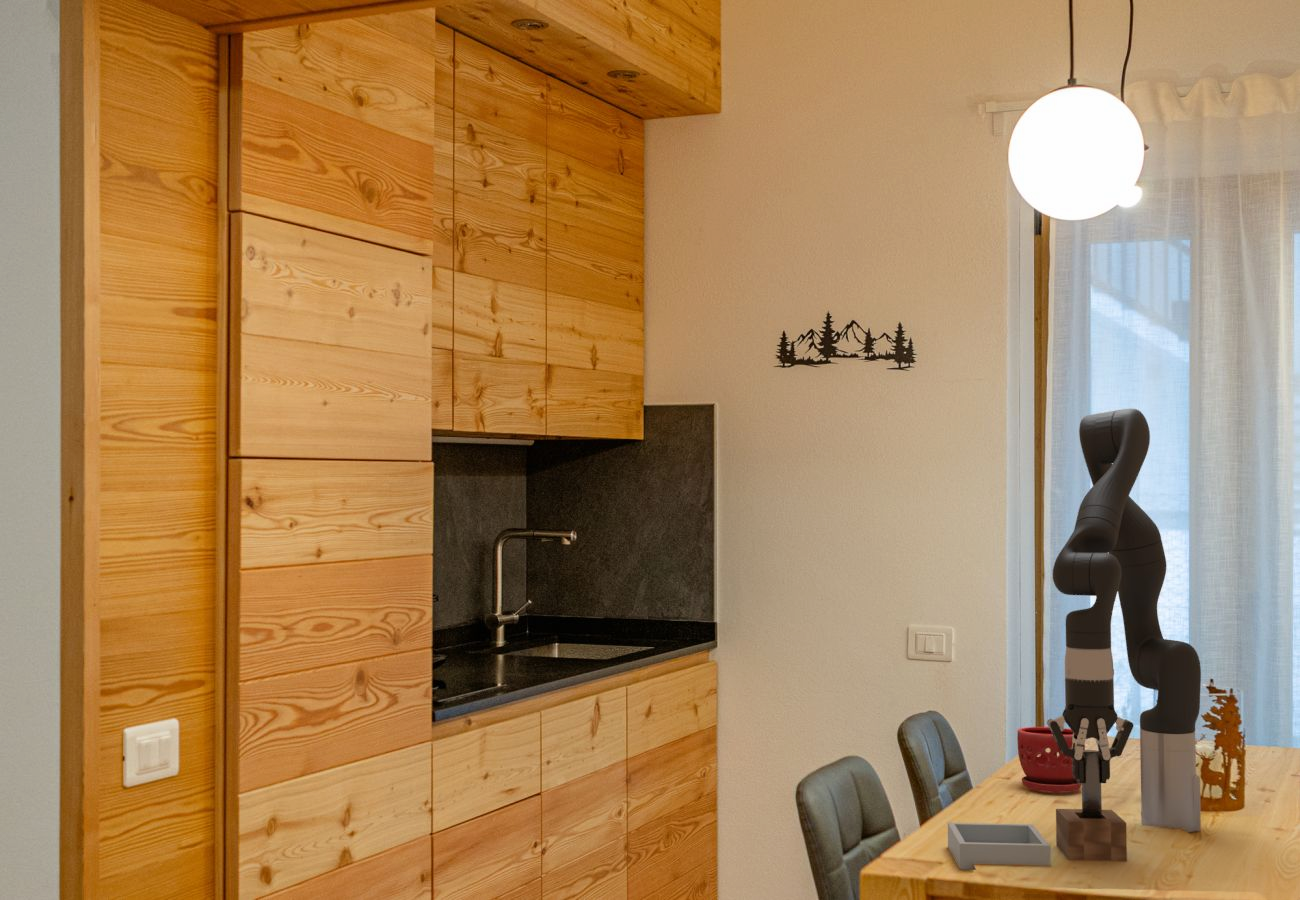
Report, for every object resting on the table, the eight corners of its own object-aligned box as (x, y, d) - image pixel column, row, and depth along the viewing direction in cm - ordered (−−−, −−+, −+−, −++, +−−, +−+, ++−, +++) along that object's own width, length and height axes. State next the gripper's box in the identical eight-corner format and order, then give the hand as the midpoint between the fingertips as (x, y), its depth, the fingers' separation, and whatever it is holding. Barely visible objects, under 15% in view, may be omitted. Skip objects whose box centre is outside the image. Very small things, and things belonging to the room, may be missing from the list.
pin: (1099, 824, 217) (1097, 749, 217) (1104, 828, 214) (1102, 753, 214) (1080, 823, 217) (1079, 749, 217) (1085, 828, 214) (1083, 753, 214)
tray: (1033, 848, 222) (1032, 824, 222) (1050, 871, 208) (1050, 845, 208) (947, 846, 223) (947, 822, 223) (960, 869, 209) (959, 843, 209)
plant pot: (1098, 794, 264) (1097, 733, 264) (1039, 798, 260) (1038, 736, 261) (1062, 781, 276) (1062, 723, 277) (1005, 784, 273) (1005, 725, 274)
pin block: (1112, 852, 219) (1111, 809, 219) (1126, 867, 210) (1126, 822, 210) (1056, 851, 220) (1055, 808, 220) (1068, 866, 211) (1068, 821, 211)
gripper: (1127, 672, 219) (1129, 778, 219) (1040, 672, 220) (1042, 777, 220) (1139, 678, 212) (1142, 787, 211) (1050, 678, 213) (1052, 786, 212)
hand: (1091, 781), depth 215 cm, fingers closed on pin, 3 cm apart
